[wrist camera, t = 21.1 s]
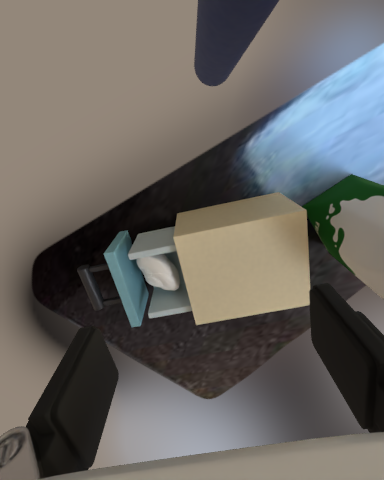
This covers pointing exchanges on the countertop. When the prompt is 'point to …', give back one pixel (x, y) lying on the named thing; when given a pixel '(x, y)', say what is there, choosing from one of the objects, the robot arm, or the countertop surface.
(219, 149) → the countertop surface
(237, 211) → the cabinet
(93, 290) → the drawer
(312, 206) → the milk carton
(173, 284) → the dumpling
